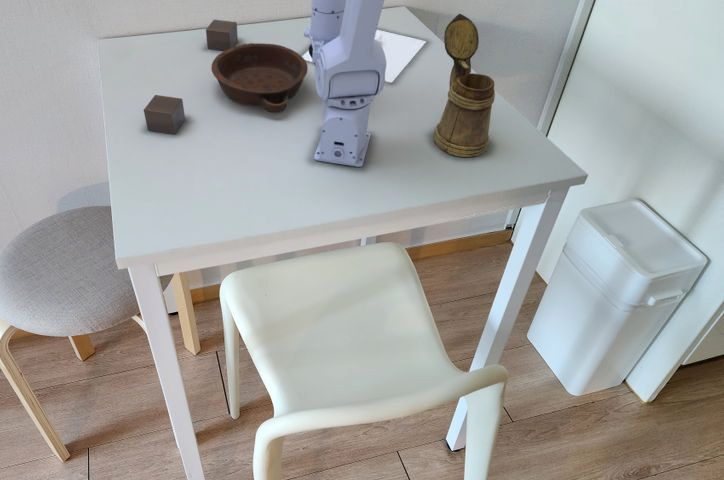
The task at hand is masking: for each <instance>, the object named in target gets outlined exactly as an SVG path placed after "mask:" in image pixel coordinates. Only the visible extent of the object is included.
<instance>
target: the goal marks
mask: <svg viewBox="0 0 724 480" xmlns="http://www.w3.org/2000/svg"><path fill="white" fill-rule="evenodd" d="M205 33H206V34H205V35H206V44H207V45H206V46H207V49H208V50H214V51H215V50H216V51H222V52H224V51H226V50H228V49H230V48H233V47H236V46H237V43H238V42H239V38H238V35H239V34H238V23H237V21H230V20H221V19H212V21H211V23H209V25H208V27H207V28H206V29H205ZM143 115H144V118H145V124H146V128H147V131H150V132H158V133H164V134H169V135H176V133H177V132H178V131H179V129H180V127H181V126H182V125H183V123H184V122H185V120H186V116H185V115H186V114H185V108H184V101H183V98H181V97H173V96H166V95H160V94H159V95H158V94H155V95H154V96H153V97H152V98H151V100H150V101H149V102H148V103H147V105H145V107H144V109H143Z"/></svg>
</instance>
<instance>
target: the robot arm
mask: <svg viewBox="0 0 724 480" xmlns="http://www.w3.org/2000/svg"><path fill="white" fill-rule="evenodd" d="M384 3H385V0H311V9H310V11H311V12H310V27H306V28H305V29H304V31H303V37H305V38H309V41H310V45H309V47H308V51H309V54H310V56H311V58H312V62H311V63H312V64H314V84H315V91H316V93H317V96H318V97H319V98H320V99H321V100H322V101H323V117H322V118H323V119H322V125H321V129H320V130H321V132H320V140H319V142H318V145H317V146H316V147H317V148H316V151H315V152H314V156H313V160H314V161H318V162H323V163H324V162H325V163H331V164H338V165H345V166H350V167H356V168H361V167H363V166H364V162H365V158H366V154H367V150H368V147H369V143H370V140H371V136H372V135H371V133H370V132H368V125H369V115H370V106H371V103H375V96H379V95H380V94H381V93H382V91H383V90H384V87H385V83H386V81H385V70H386V65H387V63H386V57H385V53H384V50H383V48H382V45H381V44H380V43H379V42H378V41H377V40H375V39H374V38H375V34H376V30H378V25H379V23H380V18H381V15H382V11H383V8H384V7H383V6H384Z"/></svg>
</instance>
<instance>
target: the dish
mask: <svg viewBox="0 0 724 480" xmlns="http://www.w3.org/2000/svg"><path fill="white" fill-rule="evenodd" d="M302 56H303V55H301V54H300V53H298V52H297V51H295V50H293V49H291V48H290V47H286V46H283V45H280V44H274V43H260V42H259V43H256V42H255V43H254V42H250V43H243V44H239V45H235V46H234V47H233V48H230V49H228V50H226V51H222V52H221V53H219V54H218V55H217V56H216V57H215V58H214V59H213V60H212V63H211V72H212V75H213V76H214V77H215V79H216V80H217V82H218V85H219V87H220V88H221V90H222V91H223V93H224V94H225V96H227V97H228V98H229V99H231V100H233V101H234V102H237V103H239V104H240V103H241V104H243V105H247V106H255V107H262V108H263V109H264V110H266V111H267V112H269V113H271V114H280V113H282V112H283V111H285V110H286V109H287V106H288V103H289V101H290V99H292V98H294V97H295V96H296V95H297V93H298V92H299V90H300V88H301V86H302V83H303V80H304V79H305V77H306V75H307V74H308V71H309V68H308V63H307V60H305V59H304V58H303V57H302Z"/></svg>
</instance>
